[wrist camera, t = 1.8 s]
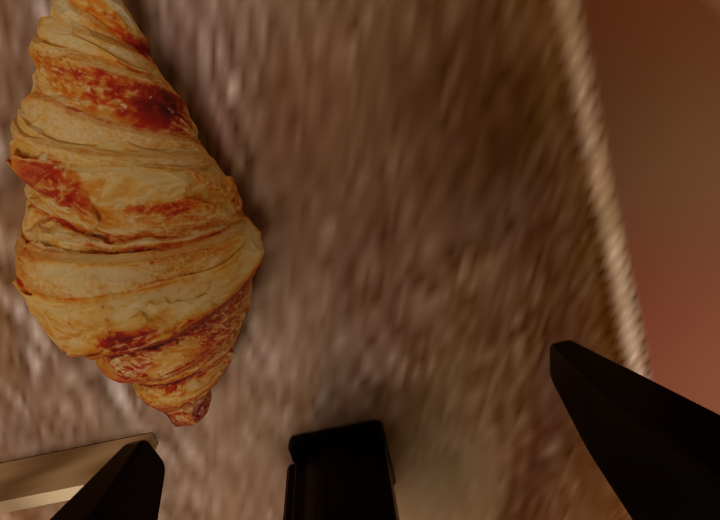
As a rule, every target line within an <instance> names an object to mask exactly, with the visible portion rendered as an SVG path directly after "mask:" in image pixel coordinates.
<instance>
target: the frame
mask: <svg viewBox="0 0 720 520" xmlns="http://www.w3.org/2000/svg"><path fill="white" fill-rule="evenodd" d="M139 440H146V441H148V442H149V443H150V444H151V445H152V447H153V448H154V450H155V449H156V447H157V444H158V442H157V441H156V439H155V437H154V436H153V434H152V433H148V434H143V435H138V436H133V437H128V438H124V439H119V440H114V441H109V442H104V443H99V444H94V445H89V446H84V447H79V448H74V449H69V450H64V451H59V452H54V453H49V454H44V455H39V456H34V457H29V458H24V459H19V460H14V461H9V462H4V463H0V514H1V513H6V512H11V511H16V510H21V509H26V508H31V507H36V506H41V505H46V504H51V503H56V502H61V501H66V500H70V499H71V498H72V497H73V496H74V495H75V494H76V493H77V492H78V491H79V490H80V489H81V488H82V487H83V486H84V485H85V484H86V483H87V482H88V481H89V480H90V479H91V478H92V477H93V476H94V475H95V474H96V473H97V472H98V471H99V470H100V469H101V468H102V467H103V466H104V465H105V464H106V463H107V462H108V461H109V460H110V459H111V458H112V457H113V456H114V455H115V454H116V453H117V452H118V451H119V450H120V449H121V448H122V447H123V446H124V445H126V444H127V443H130V442H135V441H139Z"/></svg>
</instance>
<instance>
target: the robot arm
mask: <svg viewBox="0 0 720 520" xmlns="http://www.w3.org/2000/svg"><path fill="white" fill-rule="evenodd" d="M550 374H551V378H552V381H553V383H554V385H555V387H556V389H557V391H558V393H559V395H560V397H561V399H562V401H563V403H564V405H565V407H566V409H567V411H568V413H569V415H570V417H571V419H572V421H573V423H574V425H575V427H576V429H577V430H578V432H579V434H580V436H581V438H582V440H583V442H584V444H585V446H586V448H587V449H588V451H589V453H590V454H591V456H592V458H593V459H594V461H595V462H596V464H597V465H598V467H599V469H600V470H601V472H602V473H603V475H604V476H605V478H606V479H607V481H608V482H609V484H610V485H611V487H612V489H613V490H614V492H615V493H616V495H617V496H618V498H619V499H620V501H621V502H622V504H623V505H624V507H625V509H626V510H627V512H628V513H629V515H630V516H631V518H632V519H633V520H720V415H718V414H717V413H715V412H713V411H711V410H709V409H706V408H705V407H702V406H701V405H699V404H696V403H695V402H693V401H691V400H689V399H687V398H685V397H683V396H681V395H679V394H677V393H675V392H673V391H671V390H669V389H667V388H665V387H663V386H661V385H659V384H657V383H655V382H653V381H651V380H649V379H647V378H645V377H643V376H641V375H639V374H637V373H636V372H634V371H632V370H630V369H628V368H626V367H624V366H622V365H620V364H618V363H616V362H614V361H612V360H610V359H608V358H606V357H604V356H602V355H600V354H598V353H596V352H594V351H592V350H590V349H588V348H586V347H584V346H582V345H580V344H578V343H576V342H574V341H571V340H566V341H561V342H557V343H553V344H552V345H551V346H550ZM288 449H289V452H290V454H291V457H292V459H293V461H294V464H292V465H290V466H289V467H288V469H287V480H286V492H285V504H284V515H283V520H399V515H398V509H397V502H396V496H395V490H394V485H395V483H396V480H395V475H394V471H393V466H392V462H391V458H390V453H389V449H388V445H387V441H386V436H385V432H384V428H383V424H382V423H381V422H378V421H374V422H369V423H364V424H359V425H354V426H349V427H344V428H339V429H334V430H329V431H324V432H319V433H314V434H309V435H304V436H299V437H294V438H292V439H290V440H289V445H288ZM164 475H165V468H164V463H163V461H162V460H161V458H160V457H159V455H158V454H157V452H156V451H155V450H154V448H153V447H152V445H151V444H150V443H149V442H148V441H146V440H139V441H135V442H130V443H127V444H126V445H124V446H123V447H122V448H121V449H120V450H119V451H118V452H117V453H116V454H115V455H114V456H113V457H112V458H111V459H110V460H109V461H108V462H107V463H106V464H105V465H104V466H103V467H102V468H101V469H100V470H99V471H98V472H97V473H96V474H95V475H94V476H93V477H92V478H91V479H90V480H89V481H88V482H87V483H86V484H85V485H84V486H83V487H82V488H81V489H80V490H79V491H78V492H77V493H76V494H75V495H74V496H73V497H72V498H71V499H70V500H69V501H68V502H67V503H66V504H65V505H64V506H63V507H62V508H61V509H60V510H59V511H58V512H57V513H56V514H55V515H54V516H53V517H52V518H51V519H50V520H157V519H158V513H159V507H160V500H161V494H162V487H163V481H164Z"/></svg>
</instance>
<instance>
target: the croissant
mask: <svg viewBox="0 0 720 520" xmlns="http://www.w3.org/2000/svg"><path fill="white" fill-rule="evenodd" d="M28 51H29V54H30V56H31V57H32V59H33V61H34V63H35V65H36V68H37V69H36V71H35V73H34V74H33V87H32V91H31V93H30V94H29V95H28V96H26V97H25V98H24V99H23V100H22V102H21V108H20V109H18V113H17V117H16V118H15V119H14V120H13V121H12V124H11V126H10V129H11V133H12V136H13V138H14V139H13V140H12V141H11V142H10V143H9V144H10V150H11V155H10V159H11V160H10V159H7V161H6V162H7V163H8V165H9V166H10V167H11V168H12V169H13V171H14V172H15V173H16V174H17V175H18V177H19V178H21V179H22V180H23V181H24V182H25V183H27V184H26V186H25V188H24V191H25V196H26V197H27V199H28V200H27V202H26V210H25V216H24V219H23V221H22V227H21V230H20V233H19V236H18V238H17V241H16V244H15V267H16V276H17V277H14V281H13V282H12V283H13V285H14V286H15V287H16V288H17V289H18V290H19V292H20V293H21V295H22V296H23V297H24V299H25V301H26V303H27V306H28V309H29V312H30V314H31V315H32V316H34V317H35V318H36V319H37V321H38V323H39V324H40V325H41V327H42V328H43V329H44V331H45V332H46V334H47V335H48V336H49V337H50V338H51V339H52V341H53V342H54V343H55V344H56V345H57V346H58V347H59V348H60V349H61V350H62V351H64V352H66V354H67V356H71V357H72V356H83V355H84V357H86V358H88V359H90V360H95V361H96V364H97V366H98V367H99V369H100V370H101V371H102V372H103V374H104V375H106V376H107V377H108V378H110V379H112V380H114V381H117V382H119V383H133V386H134V389H135V392H136V394H137V396H139V397H140V398H141V399H142V400H143V401H144V402H145V403H146V404H147V405H148V406H150V407H153V408H155V409H157V410H159V411H162V412H164V413H165V414H166V415H167V416H168V417H169V419H170V420H171V422H172V423H173V424H174V425H175V426H176V427H181V426H188V425H195V424H197V423H198V422H199V421H200V420H201V419H202V418H204V416H205V415H206V413H207V412H208V408H209V405H210V401H211V389H212V388H213V387H215V385H216V384H217V382H218V381H219V379H220V378H221V376H222V375H223V374H224V373H225V372H226V370H227V368H228V366H229V365H230V363H231V359H232V357H233V356H234V354H235V353H234V351H233V349H234V346H235V343H236V341H237V339H238V336H239V334H240V331H241V326H242V321H243V320H244V319H245V317H246V316H247V313H248V311H249V309H250V305H251V298H252V288H253V285H252V277H253V275H254V274H255V273H256V271H257V270H258V268H259V267H260V265H261V263H262V260H263V258H264V255H265V252H264V246H263V242H262V236H261V232H260V231H259V230H258V228H257V227H256V226H255V225H254V224H253V223H252V222H251V220H250V219H249V218H248V217H247V216H246V215H244V214H243V212H244V204H243V200H242V199H241V197H240V195H239V192H238V189H237V186H236V183H235V181H234V179H233V177H231V176H226V175H225V174H224V173H223V171H222V170H221V169H220V168H219V166H218V164H217V163H216V161H215V159H214V158H212V157H211V156H210V155H209V154H208V152H207V151H206V149H205V148H204V147H203V146H202V144H201V143H200V142H199V140H198V138H197V137H198V129H197V126H196V125H195V123H194V122H193V121H192V120H191V118H190V116H189V111H188V108H187V105H186V104H185V102H184V101H183V100H182V98H181V97H180V96H179V95H178V94H177V93H176V92H175V91H174V89H173V88H172V87H171V85H170V84H169V83H168V82H167V81H166V80H165V79H164V77H163V76H162V74H161V73H160V71H159V69H158V67H157V66H156V65H155V64H154V61H153V59H152V58H151V55H150V47H149V44H148V41H147V38H146V37H145V36H144V35H143V33H142V32H141V31H140V29H139V27H138V26H137V24H136V22H135V21H134V19H133V17H132V16H131V14H130V13H129V11H128V9H127V8H126V6H125V5H124V3H123V1H122V0H54V1H52V4H51V9H50V14H49V17H41V18H40V20H39V24H38V29H37V36H36V37H35V38H34V39H32V40H31V43H30V45H29V48H28Z"/></svg>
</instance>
